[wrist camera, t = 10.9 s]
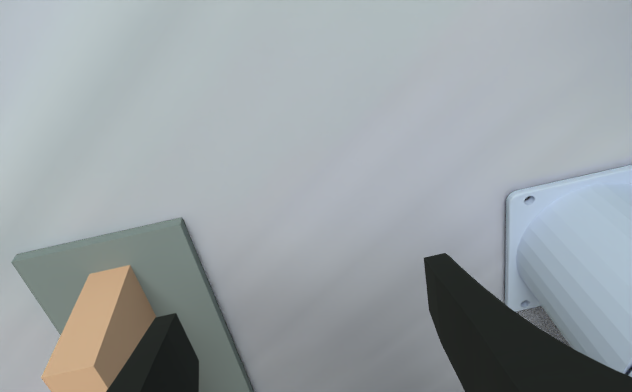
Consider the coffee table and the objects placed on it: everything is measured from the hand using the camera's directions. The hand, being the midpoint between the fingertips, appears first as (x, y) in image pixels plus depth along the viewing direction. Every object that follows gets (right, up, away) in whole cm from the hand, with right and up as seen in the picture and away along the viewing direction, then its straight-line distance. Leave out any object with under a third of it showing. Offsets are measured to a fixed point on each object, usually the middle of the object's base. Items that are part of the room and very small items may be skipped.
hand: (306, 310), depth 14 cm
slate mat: (-8, -5, +13) cm, 16 cm away
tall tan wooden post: (-8, -5, +12) cm, 16 cm away
